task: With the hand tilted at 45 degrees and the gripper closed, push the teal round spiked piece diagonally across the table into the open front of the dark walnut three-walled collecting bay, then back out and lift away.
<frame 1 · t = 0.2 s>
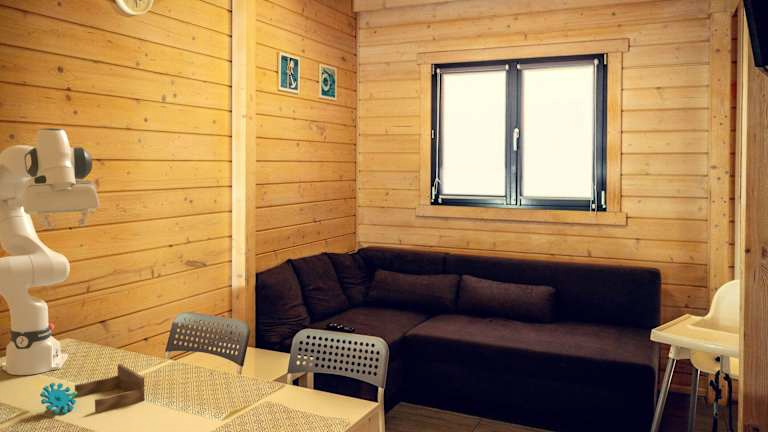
hand: (65, 226, 190), 52 cm above the table, tool tilted 20°, fingers open, 8 cm apart
bay: (104, 399, 195), on the table
teal round spiked piece: (60, 411, 186), on the table
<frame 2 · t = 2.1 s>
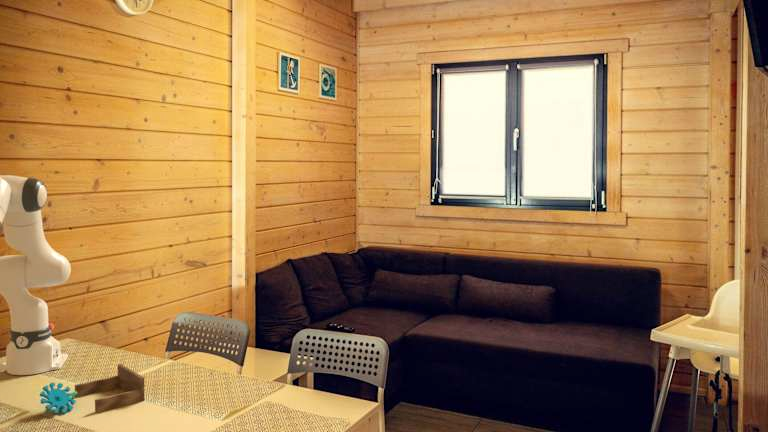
nothing on the table moved.
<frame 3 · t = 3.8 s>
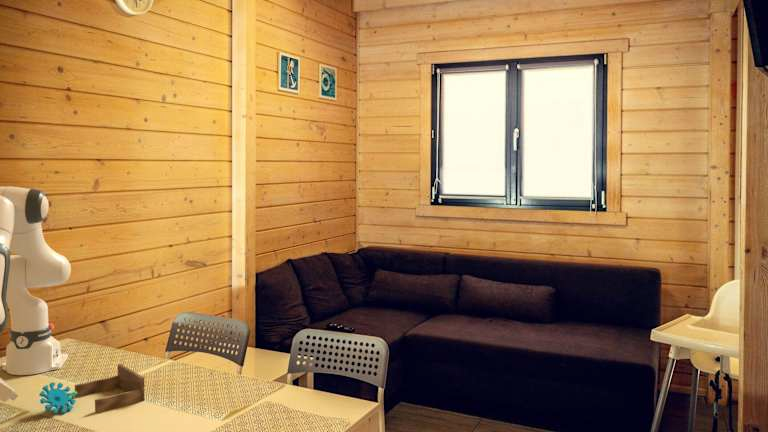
hand: (14, 396, 177), 7 cm above the table, tool tilted 45°, fingers closed
nothing on the table moved.
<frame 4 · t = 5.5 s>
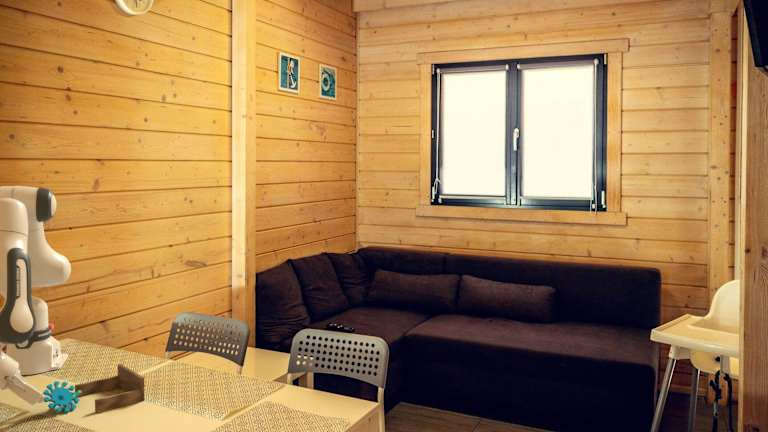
hand: (41, 399, 182), 4 cm above the table, tool tilted 45°, fingers closed
teal round spiked piece: (63, 409, 187), on the table, touching gripper
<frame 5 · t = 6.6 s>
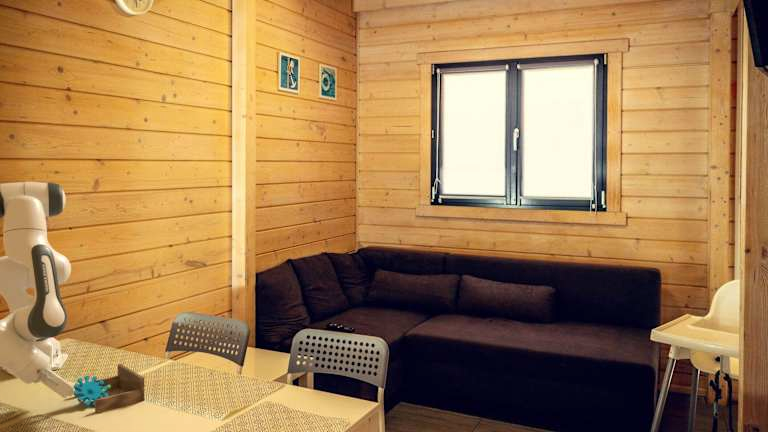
hand: (71, 393, 188), 4 cm above the table, tool tilted 45°, fingers closed
teal round spiked piece: (92, 403, 192), on the table, touching gripper
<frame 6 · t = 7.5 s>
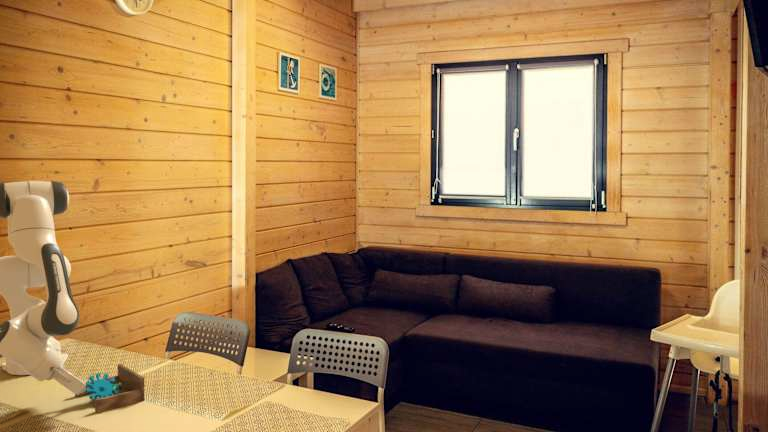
hand: (82, 390, 190), 4 cm above the table, tool tilted 45°, fingers closed
teal round spiked piece: (104, 400, 194), on the table, touching gripper
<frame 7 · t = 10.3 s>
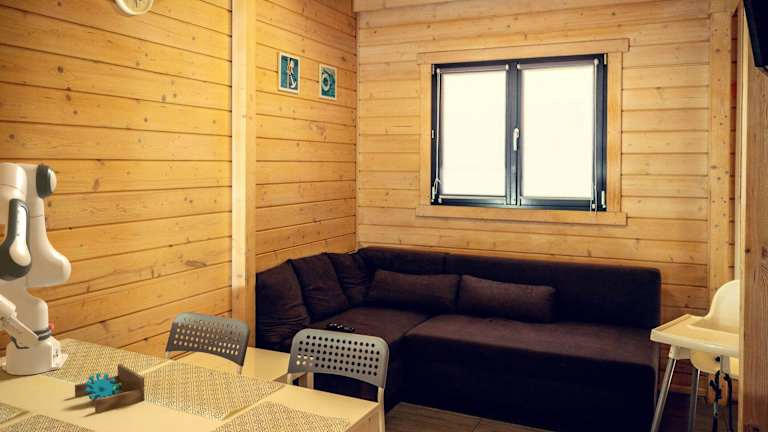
hand: (37, 344, 181), 20 cm above the table, tool tilted 45°, fingers closed
teal round spiked piece: (104, 400, 195), on the table
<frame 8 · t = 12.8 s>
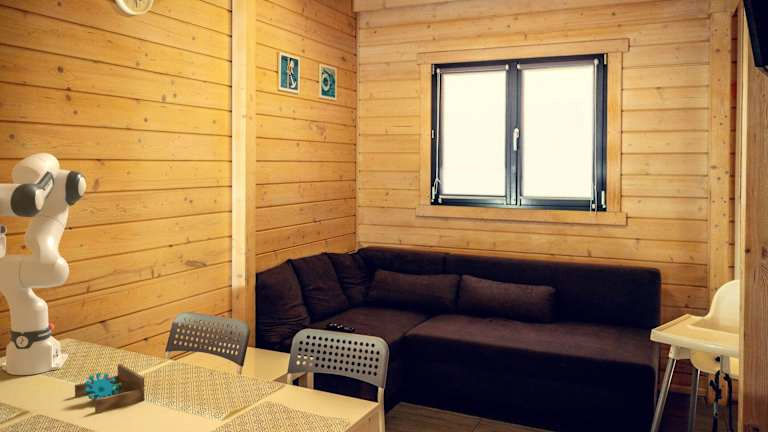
nothing on the table moved.
at the end: teal round spiked piece inside the target area on the bay (0.1 cm from its centre), point 0.0 cm above the bay's base; teal round spiked piece tilted 0°; the gripper is holding nothing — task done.
